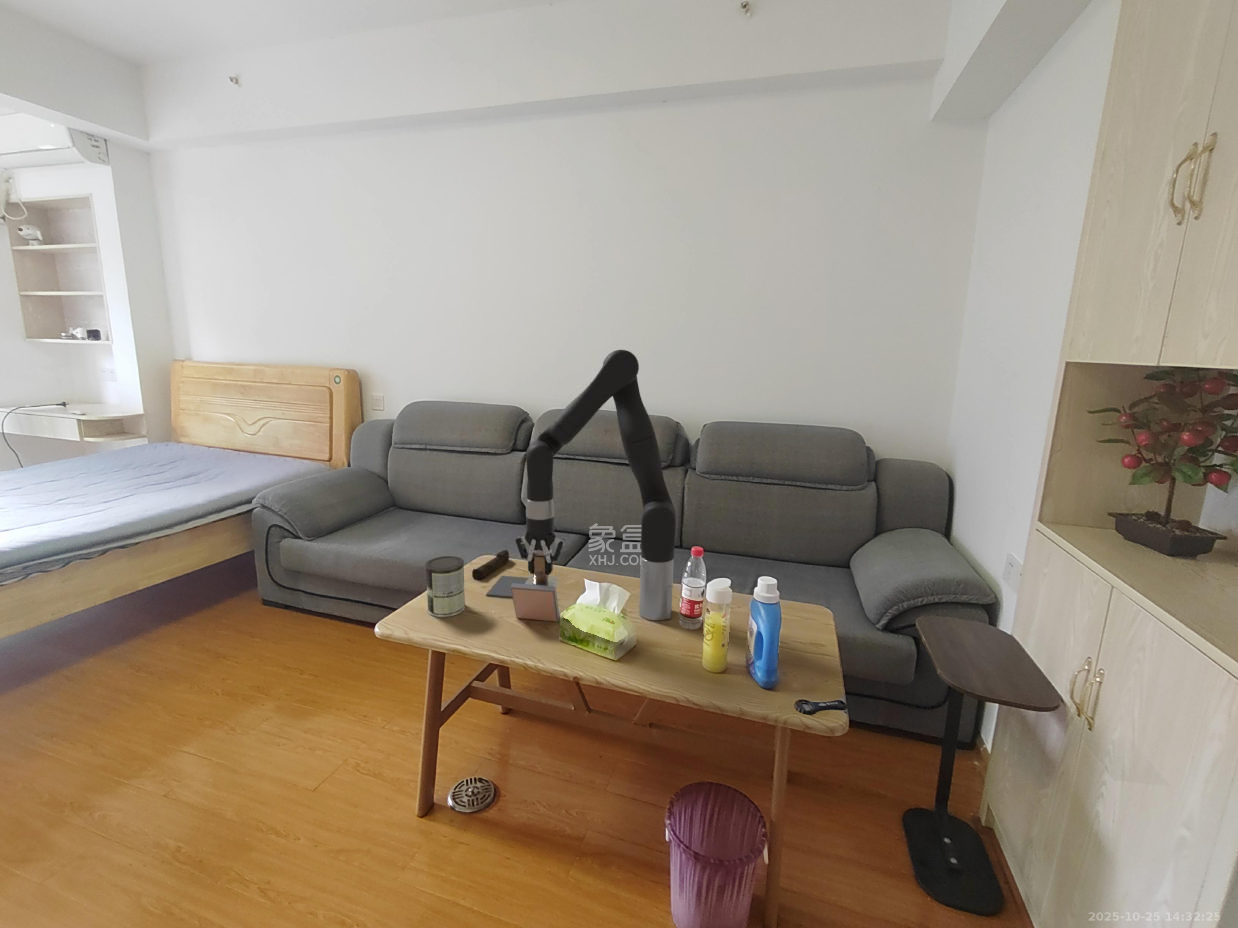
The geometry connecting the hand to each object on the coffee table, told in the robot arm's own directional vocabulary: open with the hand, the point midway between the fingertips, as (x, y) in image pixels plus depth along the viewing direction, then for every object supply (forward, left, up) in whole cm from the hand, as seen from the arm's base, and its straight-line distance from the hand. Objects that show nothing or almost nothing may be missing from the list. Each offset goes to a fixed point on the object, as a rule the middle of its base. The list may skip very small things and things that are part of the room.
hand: (540, 573), depth 155 cm
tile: (0, +2, -12) cm, 12 cm away
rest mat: (+12, -15, -12) cm, 23 cm away
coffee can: (+27, +2, -12) cm, 30 cm away
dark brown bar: (+24, -28, -13) cm, 39 cm away
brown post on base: (0, 0, -4) cm, 4 cm away
